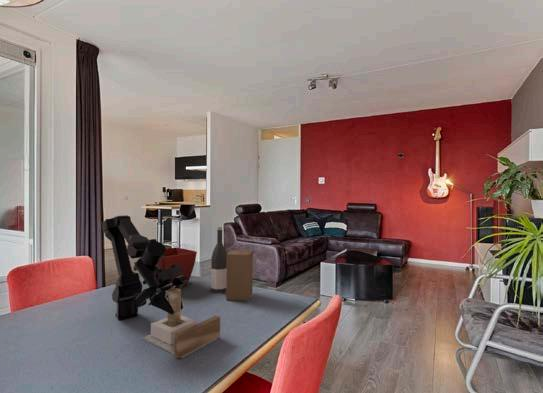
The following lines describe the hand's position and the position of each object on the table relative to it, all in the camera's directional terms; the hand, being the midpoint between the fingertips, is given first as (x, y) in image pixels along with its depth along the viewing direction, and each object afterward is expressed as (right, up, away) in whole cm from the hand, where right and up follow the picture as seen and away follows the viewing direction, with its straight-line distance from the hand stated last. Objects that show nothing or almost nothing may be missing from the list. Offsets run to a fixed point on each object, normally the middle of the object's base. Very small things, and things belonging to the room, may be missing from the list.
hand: (177, 311), depth 97 cm
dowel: (-1, -7, +1) cm, 7 cm away
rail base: (+1, -8, -1) cm, 9 cm away
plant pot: (-20, -8, +54) cm, 58 cm away
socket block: (-1, -8, +1) cm, 8 cm away
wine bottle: (+5, -8, +48) cm, 49 cm away
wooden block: (+16, -8, +38) cm, 42 cm away
